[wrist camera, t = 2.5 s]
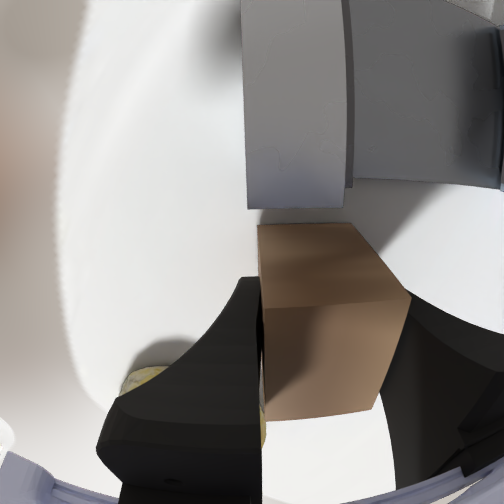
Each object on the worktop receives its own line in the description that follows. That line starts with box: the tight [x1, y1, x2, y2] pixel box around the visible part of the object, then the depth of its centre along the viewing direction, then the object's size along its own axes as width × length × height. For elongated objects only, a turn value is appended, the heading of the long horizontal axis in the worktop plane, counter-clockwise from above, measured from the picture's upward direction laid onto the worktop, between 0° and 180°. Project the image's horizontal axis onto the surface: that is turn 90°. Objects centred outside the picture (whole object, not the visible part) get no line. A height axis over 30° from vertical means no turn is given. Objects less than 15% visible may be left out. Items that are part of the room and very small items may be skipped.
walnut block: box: [257, 223, 412, 422], centre depth 10 cm, size 4×4×5 cm
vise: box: [240, 0, 504, 209], centre depth 7 cm, size 14×8×4 cm, turn 92°
